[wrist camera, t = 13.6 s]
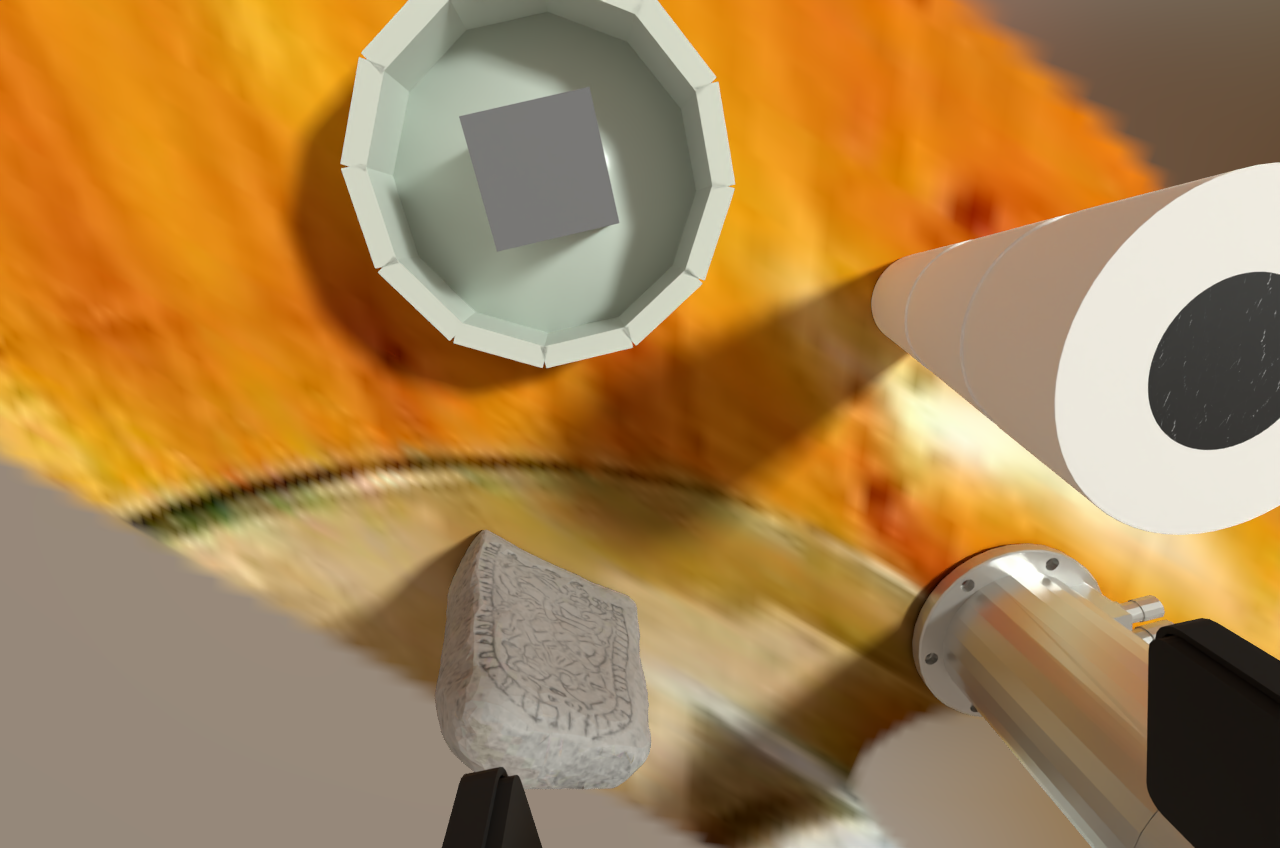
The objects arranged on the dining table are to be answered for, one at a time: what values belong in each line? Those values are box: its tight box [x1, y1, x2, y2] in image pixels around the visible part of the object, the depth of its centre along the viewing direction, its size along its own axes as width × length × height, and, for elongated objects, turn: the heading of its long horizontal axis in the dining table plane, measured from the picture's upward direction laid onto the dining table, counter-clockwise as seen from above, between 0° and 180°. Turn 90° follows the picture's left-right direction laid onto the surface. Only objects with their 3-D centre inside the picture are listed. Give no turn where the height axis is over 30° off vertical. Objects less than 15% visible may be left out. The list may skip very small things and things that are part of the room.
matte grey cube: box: [459, 87, 619, 252], centre depth 28 cm, size 5×5×6 cm
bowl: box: [340, 0, 735, 368], centre depth 29 cm, size 16×16×5 cm
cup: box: [871, 163, 1280, 535], centre depth 27 cm, size 11×11×18 cm
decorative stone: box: [435, 530, 651, 789], centre depth 31 cm, size 11×6×15 cm, turn 62°
